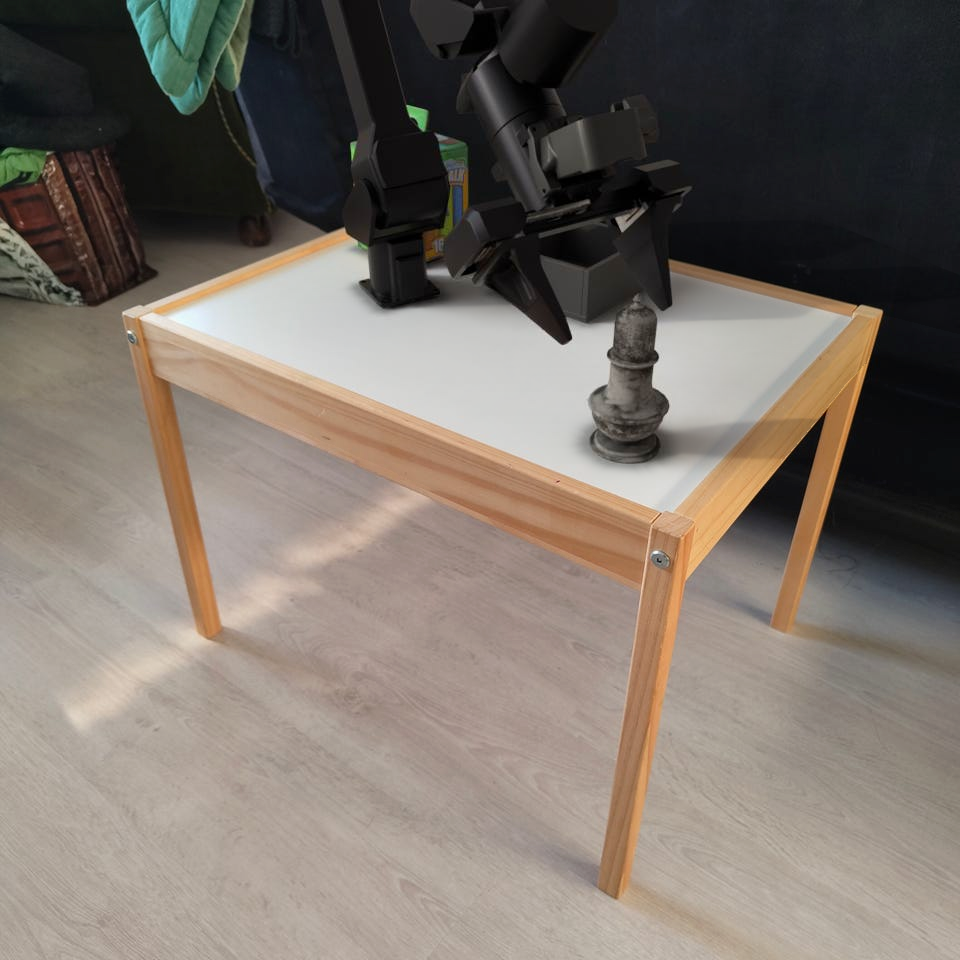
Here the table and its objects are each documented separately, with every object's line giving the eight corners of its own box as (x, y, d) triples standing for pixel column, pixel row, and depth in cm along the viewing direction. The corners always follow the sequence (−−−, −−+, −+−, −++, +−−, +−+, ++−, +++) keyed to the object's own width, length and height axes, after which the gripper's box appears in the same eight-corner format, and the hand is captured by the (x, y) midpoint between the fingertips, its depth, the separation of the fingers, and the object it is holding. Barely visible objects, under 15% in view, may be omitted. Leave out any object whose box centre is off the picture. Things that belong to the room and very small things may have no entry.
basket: (494, 293, 90) (493, 243, 87) (560, 259, 97) (561, 212, 94) (586, 323, 84) (589, 271, 81) (649, 285, 91) (654, 236, 88)
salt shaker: (663, 469, 64) (682, 315, 57) (581, 461, 65) (590, 309, 58) (665, 426, 69) (683, 279, 62) (589, 419, 70) (598, 273, 63)
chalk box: (356, 248, 100) (342, 109, 92) (419, 228, 105) (412, 94, 97) (408, 271, 95) (398, 125, 86) (472, 248, 100) (469, 108, 91)
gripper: (458, 74, 53) (568, 311, 52) (688, 37, 61) (787, 241, 60) (401, 177, 63) (492, 378, 62) (606, 134, 71) (689, 310, 70)
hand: (619, 325), depth 63 cm, fingers open, 9 cm apart
